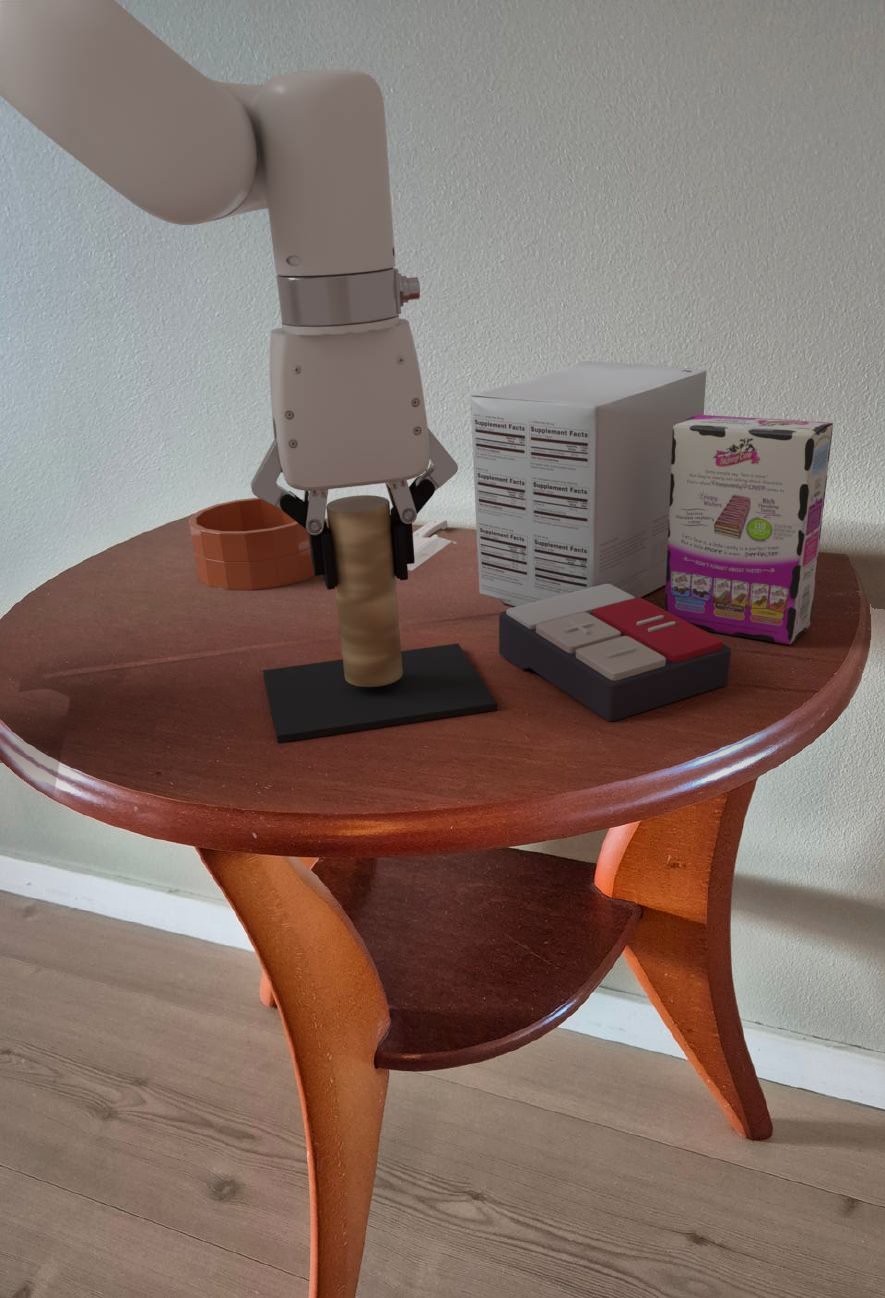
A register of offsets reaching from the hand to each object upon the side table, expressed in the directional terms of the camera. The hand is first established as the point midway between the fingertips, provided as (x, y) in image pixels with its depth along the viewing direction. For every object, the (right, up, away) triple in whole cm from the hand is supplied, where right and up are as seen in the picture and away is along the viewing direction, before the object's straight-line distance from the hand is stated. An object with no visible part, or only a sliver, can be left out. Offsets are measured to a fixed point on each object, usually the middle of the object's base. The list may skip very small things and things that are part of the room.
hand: (364, 576), depth 78 cm
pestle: (0, -7, +4) cm, 8 cm away
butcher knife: (+4, +9, +35) cm, 36 cm away
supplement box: (+19, +4, +23) cm, 30 cm away
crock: (-13, +6, +31) cm, 34 cm away
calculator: (+18, -6, +6) cm, 20 cm away
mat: (0, -8, +5) cm, 9 cm away
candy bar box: (+30, -2, +12) cm, 33 cm away
